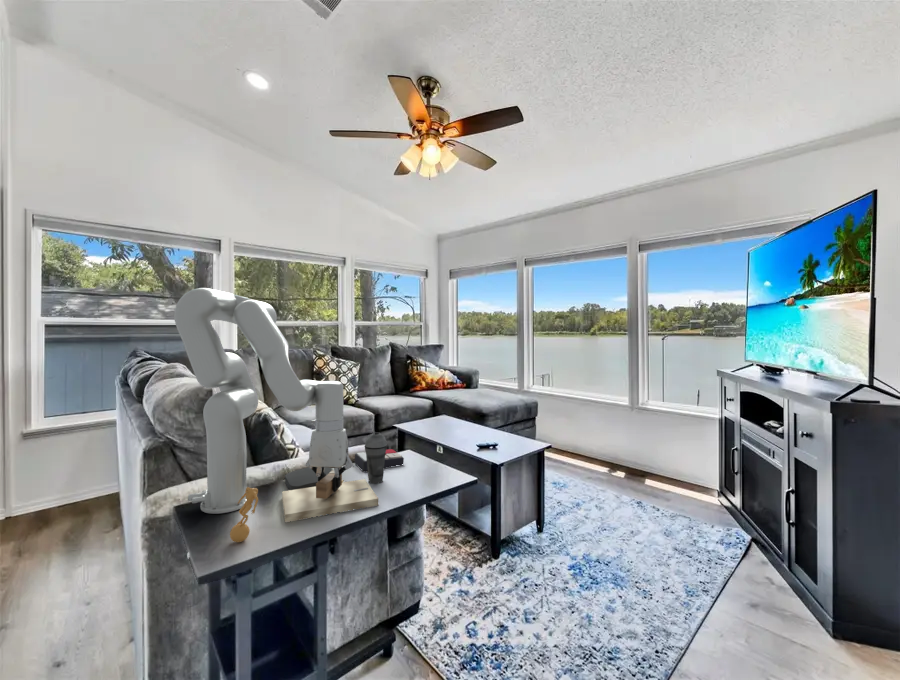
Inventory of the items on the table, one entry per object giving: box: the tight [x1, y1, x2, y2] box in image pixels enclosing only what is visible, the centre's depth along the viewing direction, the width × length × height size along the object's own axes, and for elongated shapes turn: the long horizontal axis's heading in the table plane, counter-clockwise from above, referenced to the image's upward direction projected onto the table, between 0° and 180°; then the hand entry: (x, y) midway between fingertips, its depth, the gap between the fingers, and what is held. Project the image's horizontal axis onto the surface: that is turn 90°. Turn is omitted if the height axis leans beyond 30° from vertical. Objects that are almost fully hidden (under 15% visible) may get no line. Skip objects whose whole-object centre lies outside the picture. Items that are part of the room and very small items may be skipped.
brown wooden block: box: [316, 469, 343, 499], centre depth 113 cm, size 10×3×5 cm, turn 171°
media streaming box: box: [284, 467, 334, 491], centre depth 128 cm, size 15×15×3 cm
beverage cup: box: [363, 419, 388, 485], centre depth 129 cm, size 7×7×20 cm
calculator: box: [354, 448, 405, 472], centre depth 146 cm, size 11×4×15 cm
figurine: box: [229, 486, 259, 543], centre depth 92 cm, size 8×6×12 cm
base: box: [281, 478, 379, 523], centre depth 114 cm, size 24×18×2 cm
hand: (329, 488), depth 113 cm, fingers closed on brown wooden block, 3 cm apart
